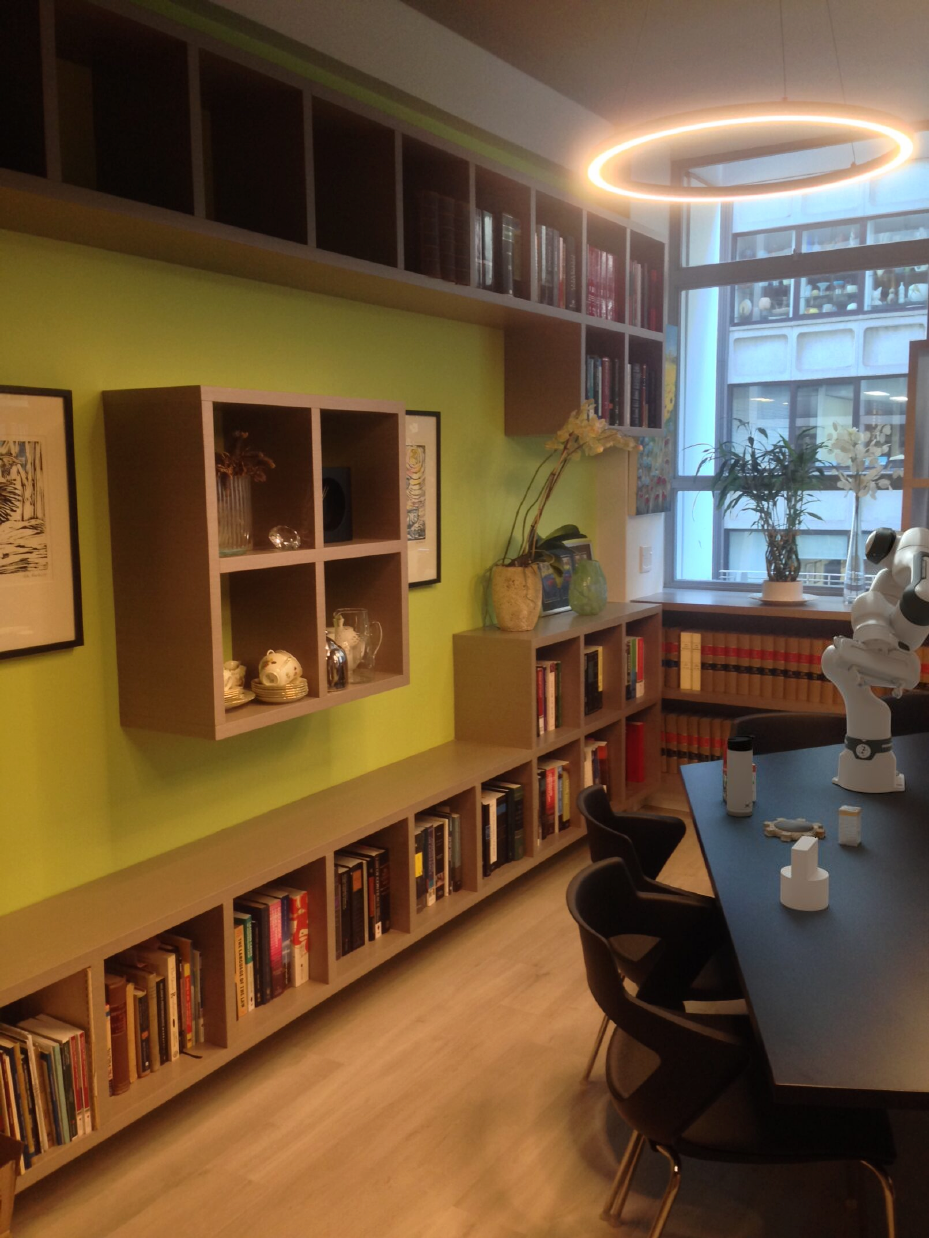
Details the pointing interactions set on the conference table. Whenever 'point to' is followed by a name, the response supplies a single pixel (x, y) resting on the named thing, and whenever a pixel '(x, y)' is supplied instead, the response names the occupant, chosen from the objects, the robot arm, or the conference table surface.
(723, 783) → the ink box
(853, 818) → the link block
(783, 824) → the toothed wheel
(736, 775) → the travel mug
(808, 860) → the base with upright slab
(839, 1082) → the conference table surface
